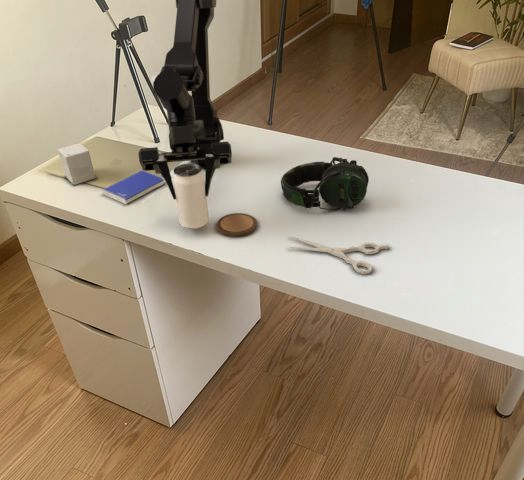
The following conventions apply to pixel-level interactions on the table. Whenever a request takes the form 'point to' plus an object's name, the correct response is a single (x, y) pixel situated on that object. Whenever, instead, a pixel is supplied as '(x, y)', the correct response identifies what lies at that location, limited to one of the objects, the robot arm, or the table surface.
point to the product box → (77, 163)
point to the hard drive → (133, 187)
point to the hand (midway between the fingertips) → (190, 197)
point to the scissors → (341, 251)
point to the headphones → (326, 184)
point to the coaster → (237, 225)
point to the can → (190, 196)
